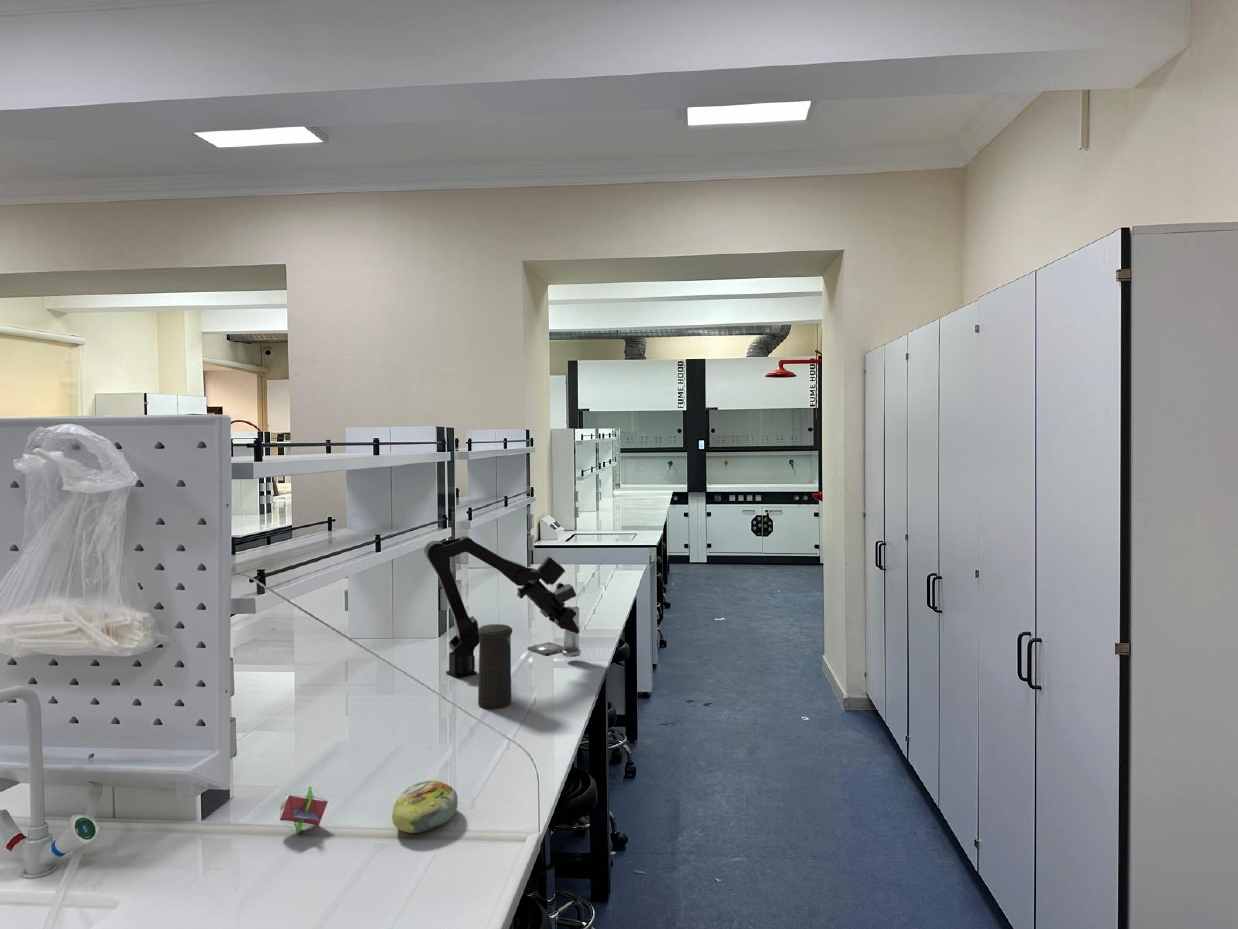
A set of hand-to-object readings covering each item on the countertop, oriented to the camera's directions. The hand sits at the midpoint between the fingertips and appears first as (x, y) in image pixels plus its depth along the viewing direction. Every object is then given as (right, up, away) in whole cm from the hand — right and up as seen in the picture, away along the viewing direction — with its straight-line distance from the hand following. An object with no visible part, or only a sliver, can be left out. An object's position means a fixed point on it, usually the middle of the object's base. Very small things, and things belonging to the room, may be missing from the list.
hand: (575, 630), depth 235 cm
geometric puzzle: (-42, -13, -100) cm, 109 cm away
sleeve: (-1, -7, 0) cm, 7 cm away
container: (-19, -11, -37) cm, 43 cm away
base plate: (-10, -9, +12) cm, 18 cm away
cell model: (-22, -13, -96) cm, 100 cm away
